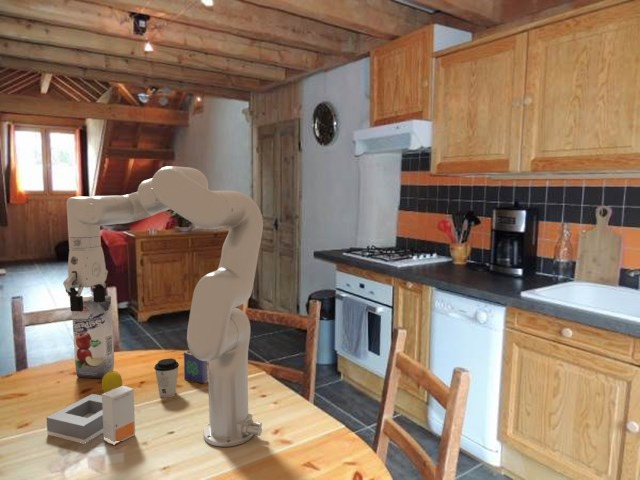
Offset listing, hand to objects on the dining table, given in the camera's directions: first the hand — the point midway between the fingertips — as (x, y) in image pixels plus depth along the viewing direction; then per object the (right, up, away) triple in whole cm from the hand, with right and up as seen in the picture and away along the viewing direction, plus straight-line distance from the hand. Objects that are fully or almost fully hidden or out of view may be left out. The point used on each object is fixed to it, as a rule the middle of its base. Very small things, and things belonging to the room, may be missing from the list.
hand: (88, 306), depth 123 cm
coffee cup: (+17, -28, +13) cm, 35 cm away
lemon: (+2, -28, +11) cm, 30 cm away
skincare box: (+14, -31, -12) cm, 36 cm away
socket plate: (+3, -30, -6) cm, 31 cm away
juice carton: (-12, -27, +27) cm, 40 cm away
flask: (+23, -27, +22) cm, 42 cm away
